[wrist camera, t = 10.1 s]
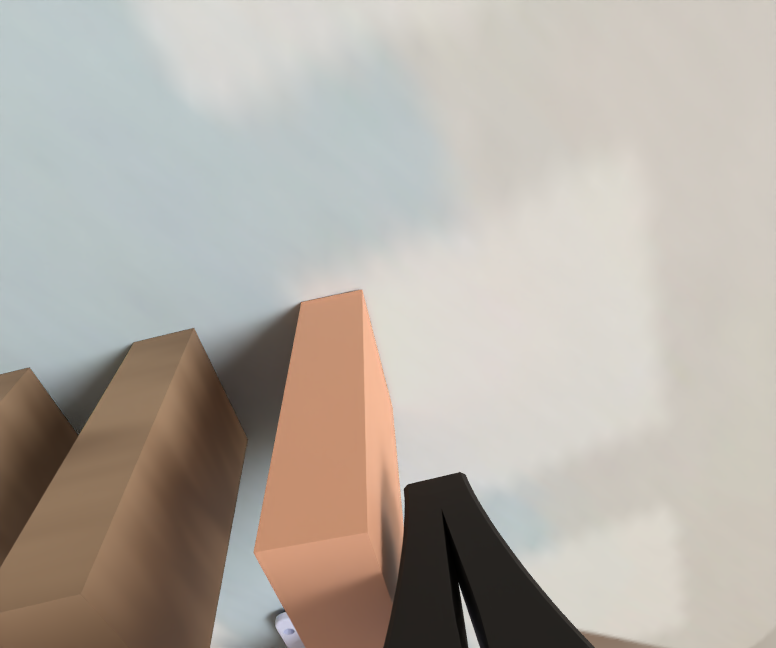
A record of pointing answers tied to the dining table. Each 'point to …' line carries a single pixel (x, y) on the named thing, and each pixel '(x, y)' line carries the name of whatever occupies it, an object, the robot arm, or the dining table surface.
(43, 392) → the walnut domino
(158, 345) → the walnut domino
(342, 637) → the terracotta domino
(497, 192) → the dining table surface
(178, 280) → the dining table surface
